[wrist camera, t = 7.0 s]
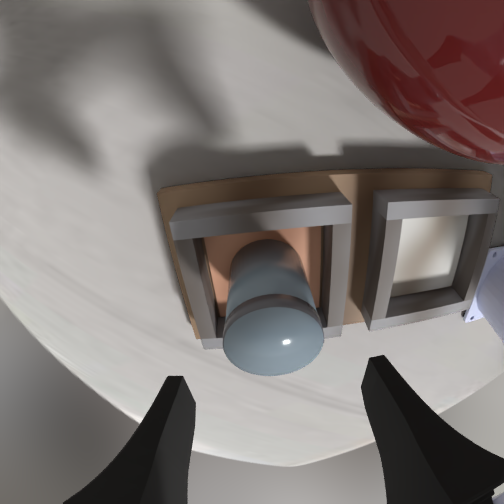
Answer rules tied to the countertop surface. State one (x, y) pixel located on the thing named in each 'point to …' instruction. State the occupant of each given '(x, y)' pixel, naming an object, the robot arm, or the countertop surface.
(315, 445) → the countertop surface
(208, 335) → the caddy
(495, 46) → the round-bottom flask
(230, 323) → the grey plastic cylinder
